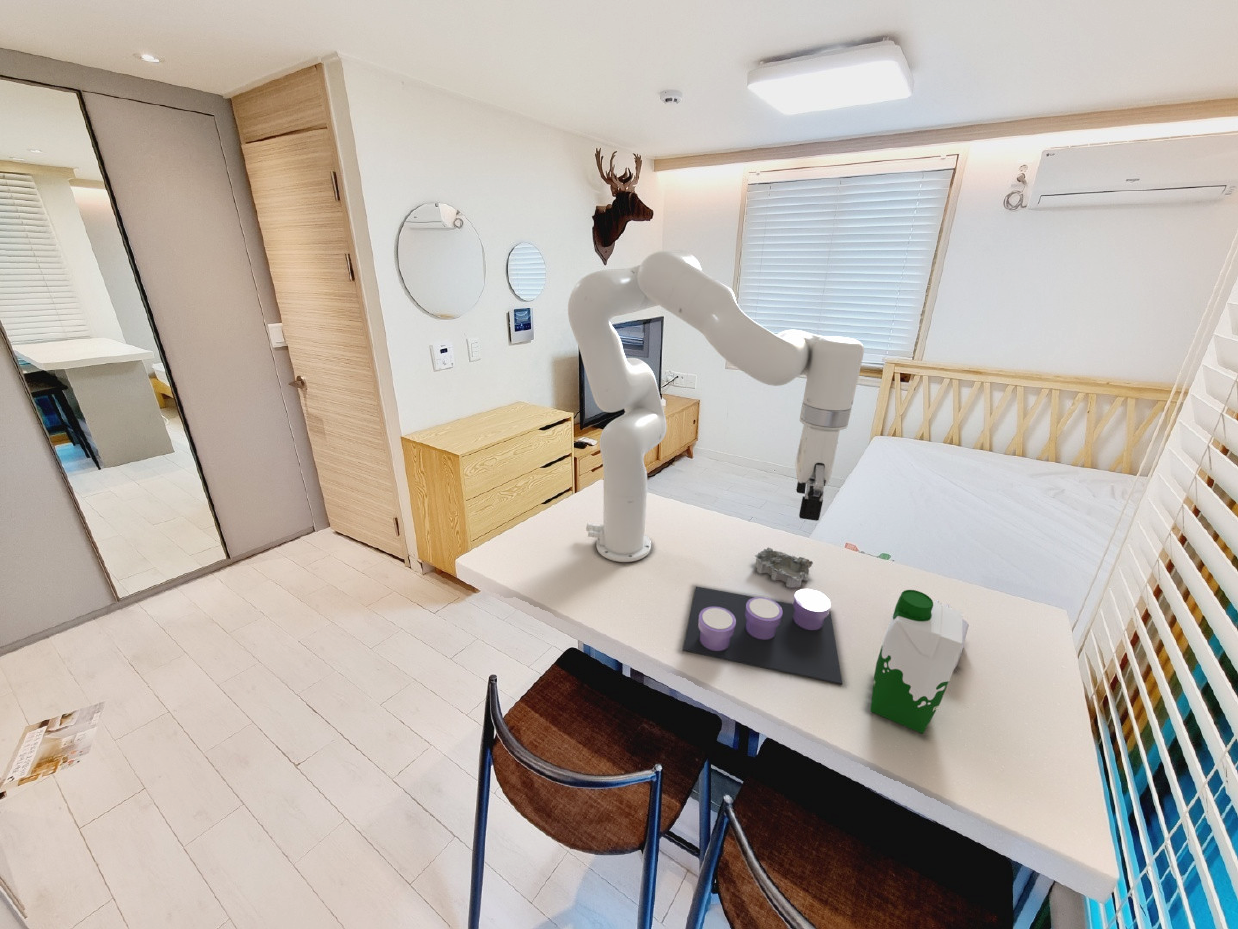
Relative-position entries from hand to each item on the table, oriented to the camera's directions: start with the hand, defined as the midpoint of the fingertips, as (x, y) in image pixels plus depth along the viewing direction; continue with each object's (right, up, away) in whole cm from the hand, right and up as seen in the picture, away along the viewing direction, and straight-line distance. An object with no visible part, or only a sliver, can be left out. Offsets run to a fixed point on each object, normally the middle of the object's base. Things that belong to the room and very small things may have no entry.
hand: (806, 505), depth 90 cm
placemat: (-8, -23, +2) cm, 25 cm away
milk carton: (+10, -30, -12) cm, 34 cm away
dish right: (+2, -22, +5) cm, 23 cm away
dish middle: (-8, -23, +2) cm, 24 cm away
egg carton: (+1, -16, +18) cm, 25 cm away
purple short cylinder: (-17, -24, 0) cm, 29 cm away
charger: (+24, -24, +3) cm, 34 cm away
